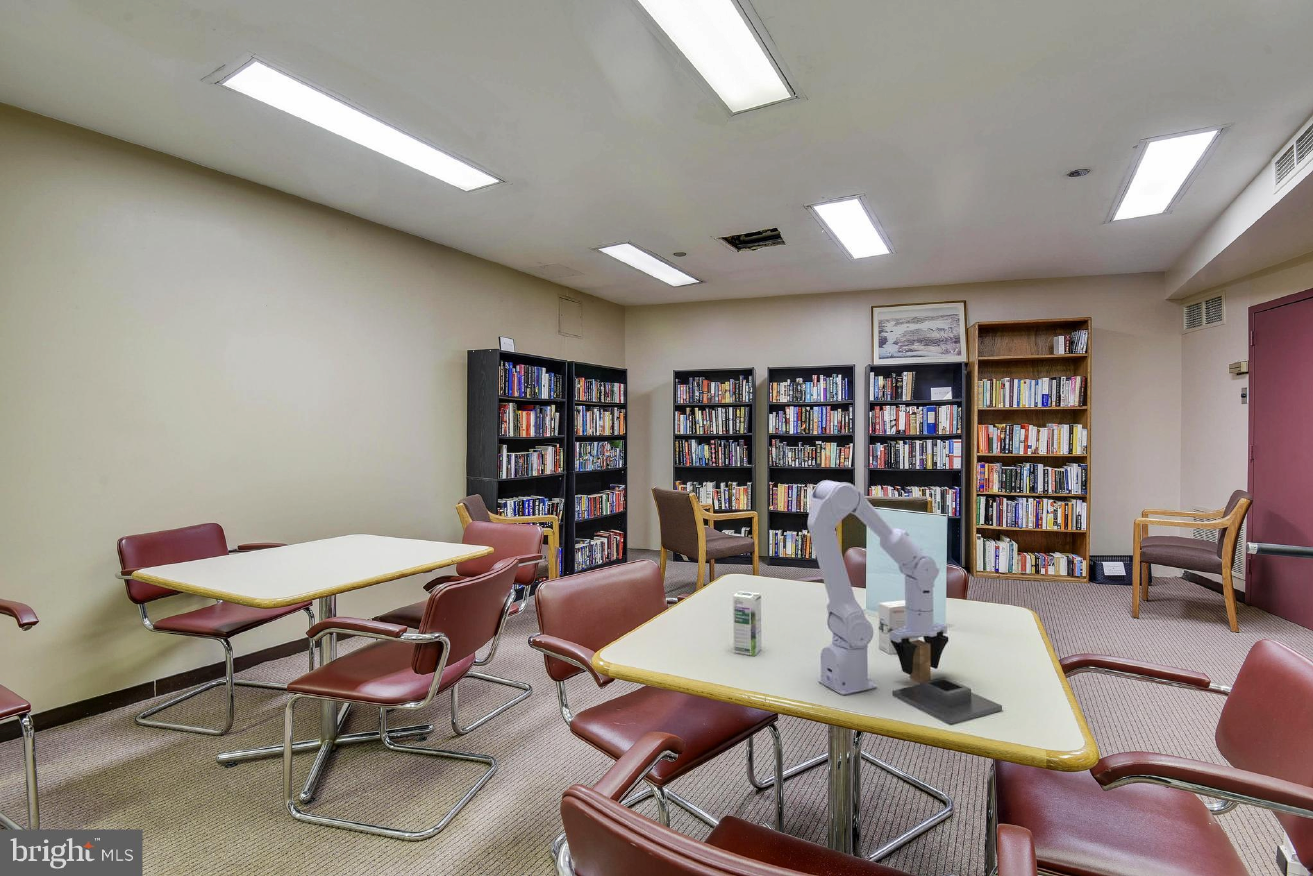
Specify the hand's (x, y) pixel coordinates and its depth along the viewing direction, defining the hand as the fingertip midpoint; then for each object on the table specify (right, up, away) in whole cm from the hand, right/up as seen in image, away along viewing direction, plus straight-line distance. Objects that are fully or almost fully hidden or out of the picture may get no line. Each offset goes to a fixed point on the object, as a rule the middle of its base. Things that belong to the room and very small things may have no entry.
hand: (920, 669), depth 131 cm
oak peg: (0, -2, 0) cm, 2 cm away
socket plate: (0, -2, -12) cm, 12 cm away
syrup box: (-35, -3, +19) cm, 40 cm away
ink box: (+3, -2, +19) cm, 19 cm away
